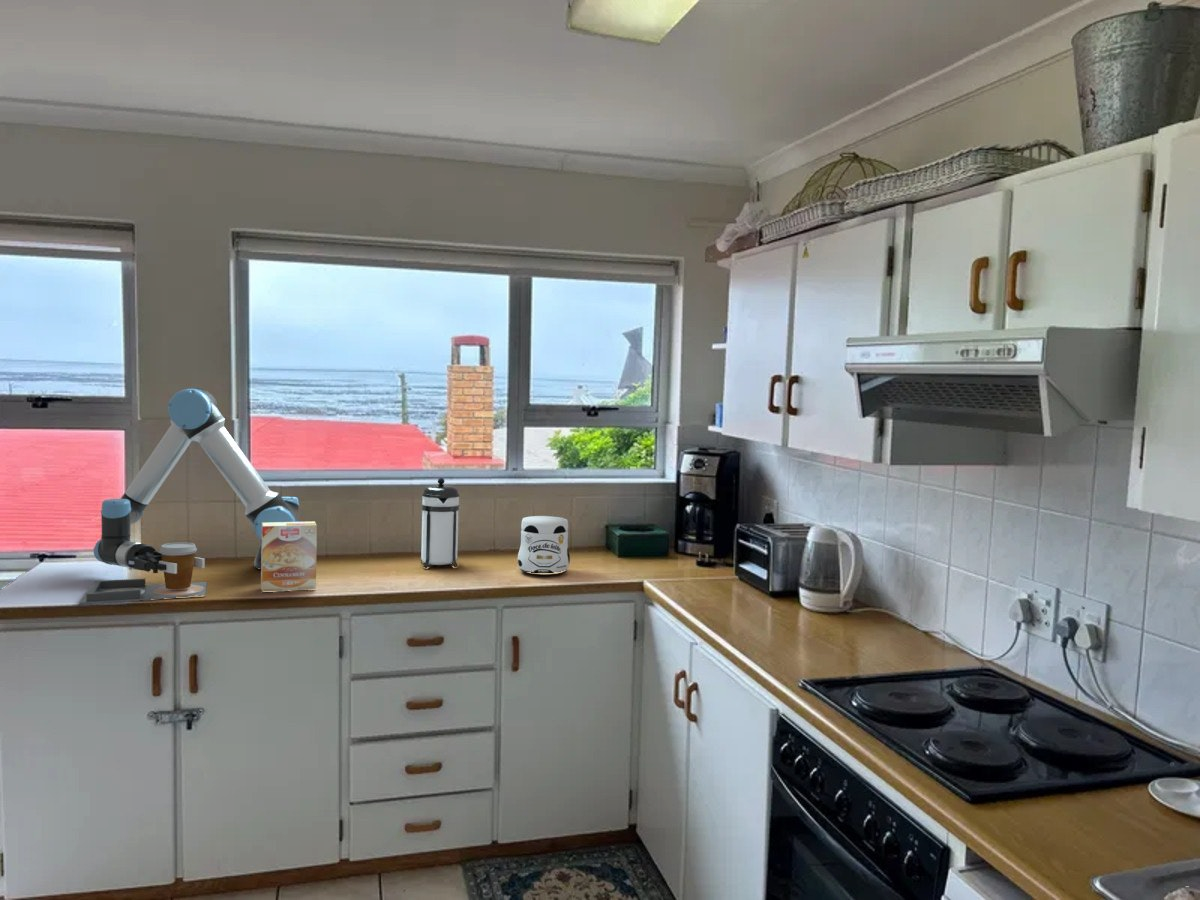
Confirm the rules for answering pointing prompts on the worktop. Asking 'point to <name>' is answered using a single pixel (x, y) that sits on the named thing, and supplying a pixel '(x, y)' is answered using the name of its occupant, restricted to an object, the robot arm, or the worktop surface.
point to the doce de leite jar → (544, 544)
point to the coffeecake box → (288, 556)
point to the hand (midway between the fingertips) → (189, 566)
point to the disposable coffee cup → (179, 563)
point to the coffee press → (440, 524)
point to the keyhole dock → (136, 591)
